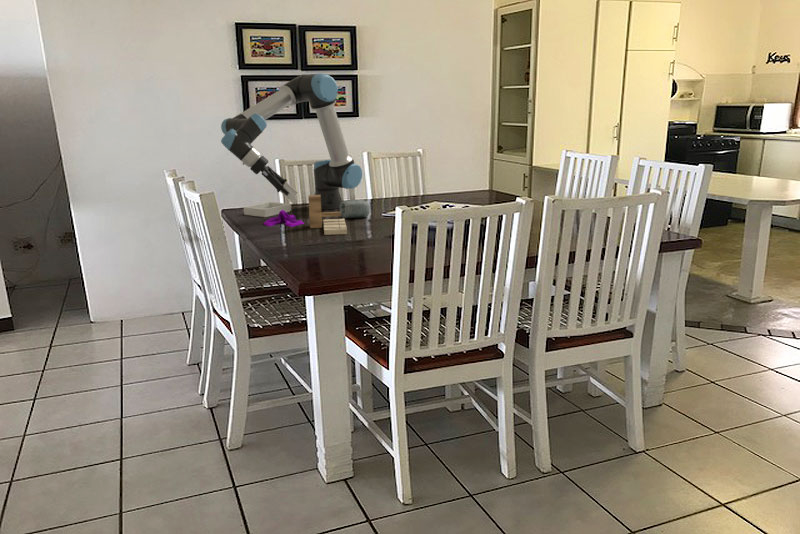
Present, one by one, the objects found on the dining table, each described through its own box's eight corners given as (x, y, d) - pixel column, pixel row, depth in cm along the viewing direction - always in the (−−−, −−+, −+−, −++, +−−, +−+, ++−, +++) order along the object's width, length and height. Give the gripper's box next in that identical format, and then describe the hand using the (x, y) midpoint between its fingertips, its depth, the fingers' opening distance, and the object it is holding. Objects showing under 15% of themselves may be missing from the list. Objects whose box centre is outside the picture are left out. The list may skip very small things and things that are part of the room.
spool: (337, 213, 276) (342, 192, 278) (337, 219, 285) (341, 199, 288) (368, 220, 277) (372, 199, 279) (366, 226, 286) (370, 205, 289)
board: (323, 224, 270) (323, 219, 270) (344, 223, 271) (344, 218, 271) (324, 234, 249) (324, 229, 249) (347, 233, 250) (346, 228, 250)
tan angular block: (310, 225, 268) (308, 195, 264) (340, 224, 269) (339, 194, 266) (310, 228, 263) (308, 197, 259) (341, 226, 265) (339, 195, 261)
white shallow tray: (270, 208, 310) (269, 201, 309) (291, 211, 302) (290, 204, 301) (244, 214, 296) (243, 207, 295) (265, 217, 288) (264, 209, 287)
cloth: (303, 227, 267) (302, 213, 265) (259, 228, 266) (258, 214, 264) (308, 218, 288) (308, 204, 286) (268, 218, 287) (267, 205, 286)
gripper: (252, 165, 267) (290, 199, 273) (245, 171, 243) (287, 208, 249) (264, 152, 267) (301, 186, 272) (258, 157, 243) (300, 195, 248)
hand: (295, 197), depth 261 cm, fingers open, 13 cm apart
